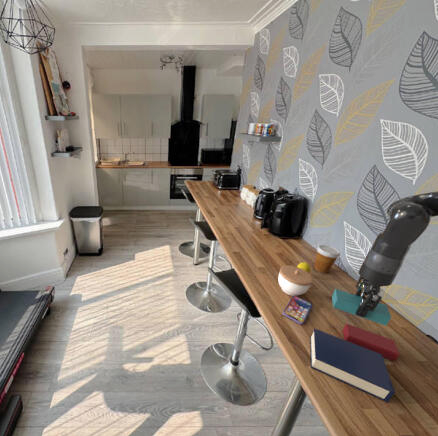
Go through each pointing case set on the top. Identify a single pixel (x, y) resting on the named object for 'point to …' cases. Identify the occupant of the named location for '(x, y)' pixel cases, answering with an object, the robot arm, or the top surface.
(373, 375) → the big book
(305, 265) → the lemon
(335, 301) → the teal rectangular block
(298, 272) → the lidded bowl
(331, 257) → the disposable coffee cup
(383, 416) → the top surface
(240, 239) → the top surface
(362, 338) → the red rectangular block
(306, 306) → the smartphone
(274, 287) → the top surface
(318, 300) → the top surface
